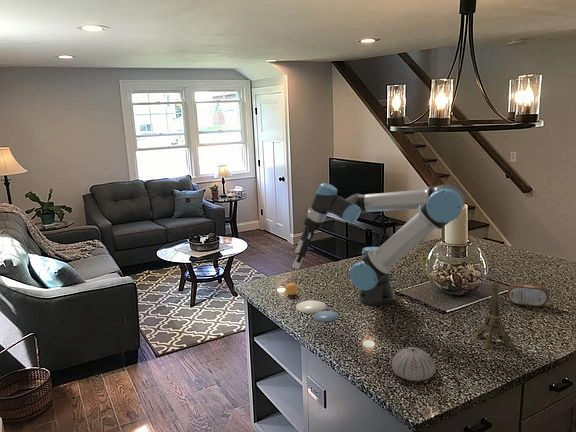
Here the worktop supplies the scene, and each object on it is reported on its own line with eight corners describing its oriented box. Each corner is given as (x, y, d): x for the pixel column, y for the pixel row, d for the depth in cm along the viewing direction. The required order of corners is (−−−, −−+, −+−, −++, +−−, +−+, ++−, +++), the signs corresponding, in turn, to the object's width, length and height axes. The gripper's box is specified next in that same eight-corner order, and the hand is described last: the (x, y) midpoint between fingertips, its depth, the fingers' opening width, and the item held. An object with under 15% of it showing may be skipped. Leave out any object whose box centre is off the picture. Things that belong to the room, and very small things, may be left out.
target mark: (329, 302, 206) (329, 301, 206) (321, 314, 194) (321, 313, 194) (301, 299, 211) (301, 299, 211) (291, 311, 199) (291, 310, 199)
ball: (299, 293, 219) (299, 281, 218) (295, 297, 214) (295, 285, 213) (288, 292, 221) (287, 280, 220) (284, 296, 216) (283, 284, 215)
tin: (547, 305, 192) (549, 285, 190) (548, 308, 189) (549, 288, 187) (506, 301, 198) (507, 282, 196) (506, 304, 195) (507, 284, 193)
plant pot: (441, 279, 227) (441, 262, 225) (421, 279, 229) (421, 261, 227) (439, 272, 236) (439, 256, 234) (419, 272, 238) (419, 256, 236)
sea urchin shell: (386, 364, 154) (386, 341, 152) (427, 361, 155) (427, 338, 153) (397, 387, 141) (397, 362, 139) (442, 383, 142) (443, 358, 140)
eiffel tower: (471, 335, 170) (473, 268, 165) (500, 332, 171) (503, 266, 166) (486, 349, 160) (488, 278, 155) (516, 346, 161) (519, 276, 156)
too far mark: (341, 312, 195) (341, 312, 195) (334, 322, 186) (334, 322, 186) (317, 310, 199) (317, 309, 199) (310, 320, 189) (310, 319, 189)
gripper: (308, 204, 209) (290, 244, 217) (305, 227, 186) (285, 270, 194) (324, 210, 209) (306, 250, 217) (322, 234, 186) (302, 277, 194)
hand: (296, 260), depth 206 cm, fingers open, 13 cm apart
